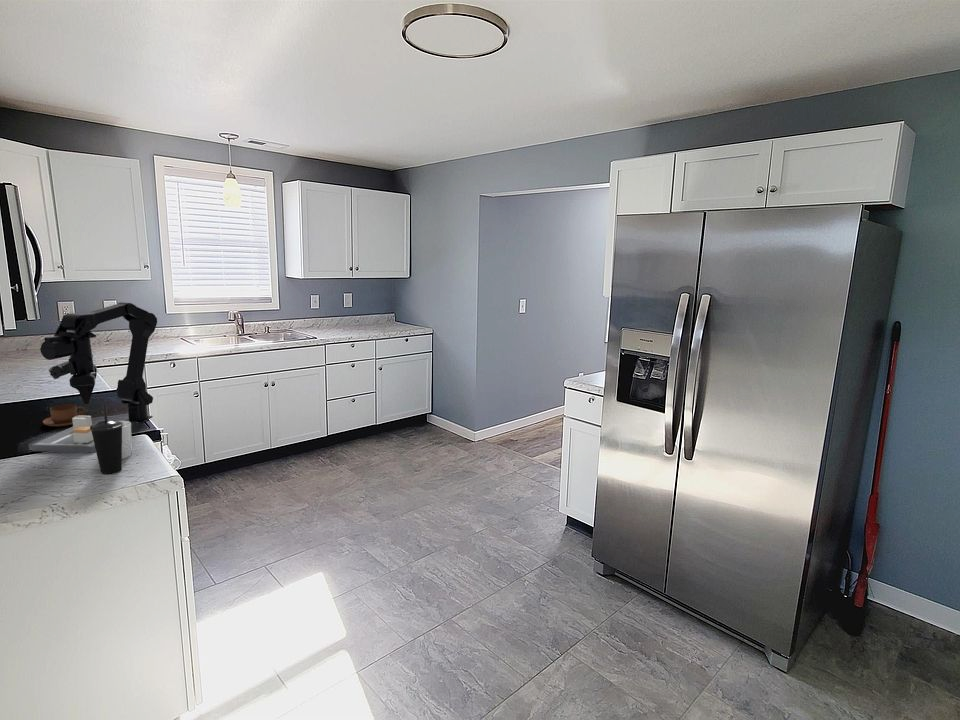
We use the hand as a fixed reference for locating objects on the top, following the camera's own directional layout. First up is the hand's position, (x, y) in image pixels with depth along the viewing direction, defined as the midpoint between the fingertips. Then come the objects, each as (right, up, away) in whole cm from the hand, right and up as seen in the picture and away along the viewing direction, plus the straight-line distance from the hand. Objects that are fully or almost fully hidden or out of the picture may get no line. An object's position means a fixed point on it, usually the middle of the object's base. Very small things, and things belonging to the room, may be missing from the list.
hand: (87, 400), depth 175 cm
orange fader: (+4, -12, -7) cm, 15 cm away
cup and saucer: (-18, -10, +14) cm, 25 cm away
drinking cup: (+24, -19, -23) cm, 38 cm away
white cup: (+18, -16, -12) cm, 28 cm away
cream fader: (-4, -10, +3) cm, 11 cm away
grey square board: (0, -13, -2) cm, 13 cm away
